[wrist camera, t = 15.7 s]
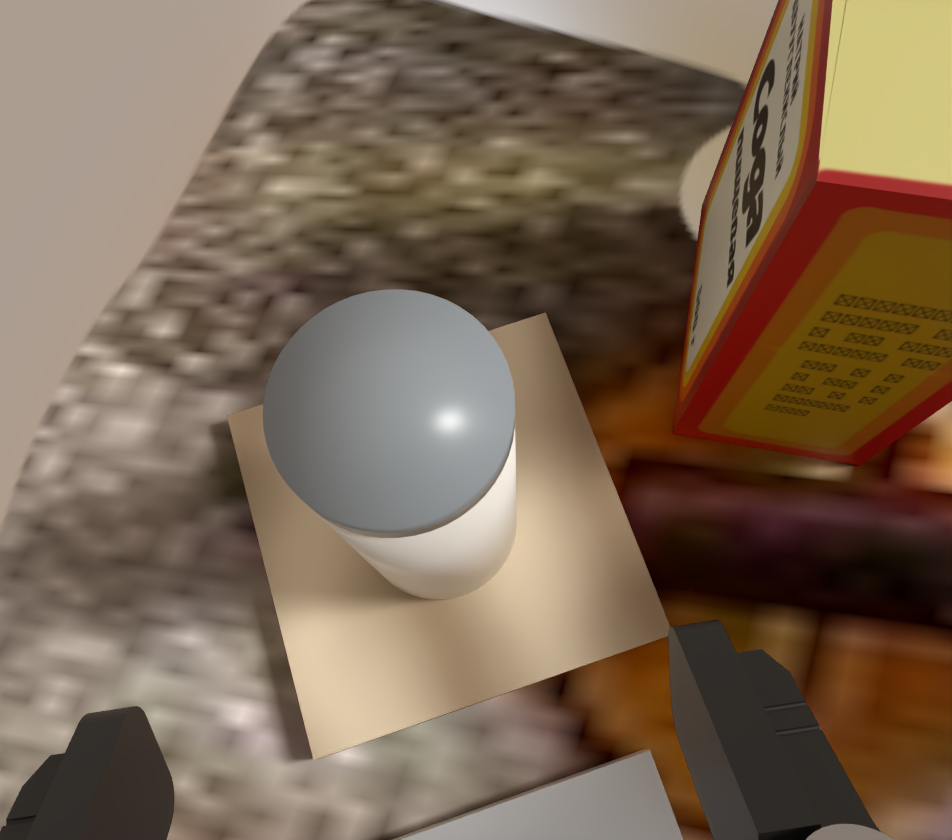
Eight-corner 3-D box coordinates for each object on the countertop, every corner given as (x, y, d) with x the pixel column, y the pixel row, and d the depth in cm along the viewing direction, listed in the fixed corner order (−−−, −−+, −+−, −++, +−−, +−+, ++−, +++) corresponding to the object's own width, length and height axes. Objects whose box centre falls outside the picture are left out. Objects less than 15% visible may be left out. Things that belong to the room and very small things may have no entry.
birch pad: (544, 324, 32) (545, 312, 31) (667, 636, 29) (673, 633, 28) (235, 424, 32) (226, 415, 31) (320, 758, 28) (313, 759, 27)
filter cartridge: (488, 428, 30) (468, 258, 19) (538, 569, 28) (550, 479, 17) (345, 475, 30) (236, 333, 18) (388, 621, 28) (298, 564, 17)
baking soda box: (859, 465, 30) (1207, 222, 15) (671, 433, 31) (823, 169, 16) (873, 229, 33) (1179, -177, 18) (702, 205, 34) (855, -207, 18)
